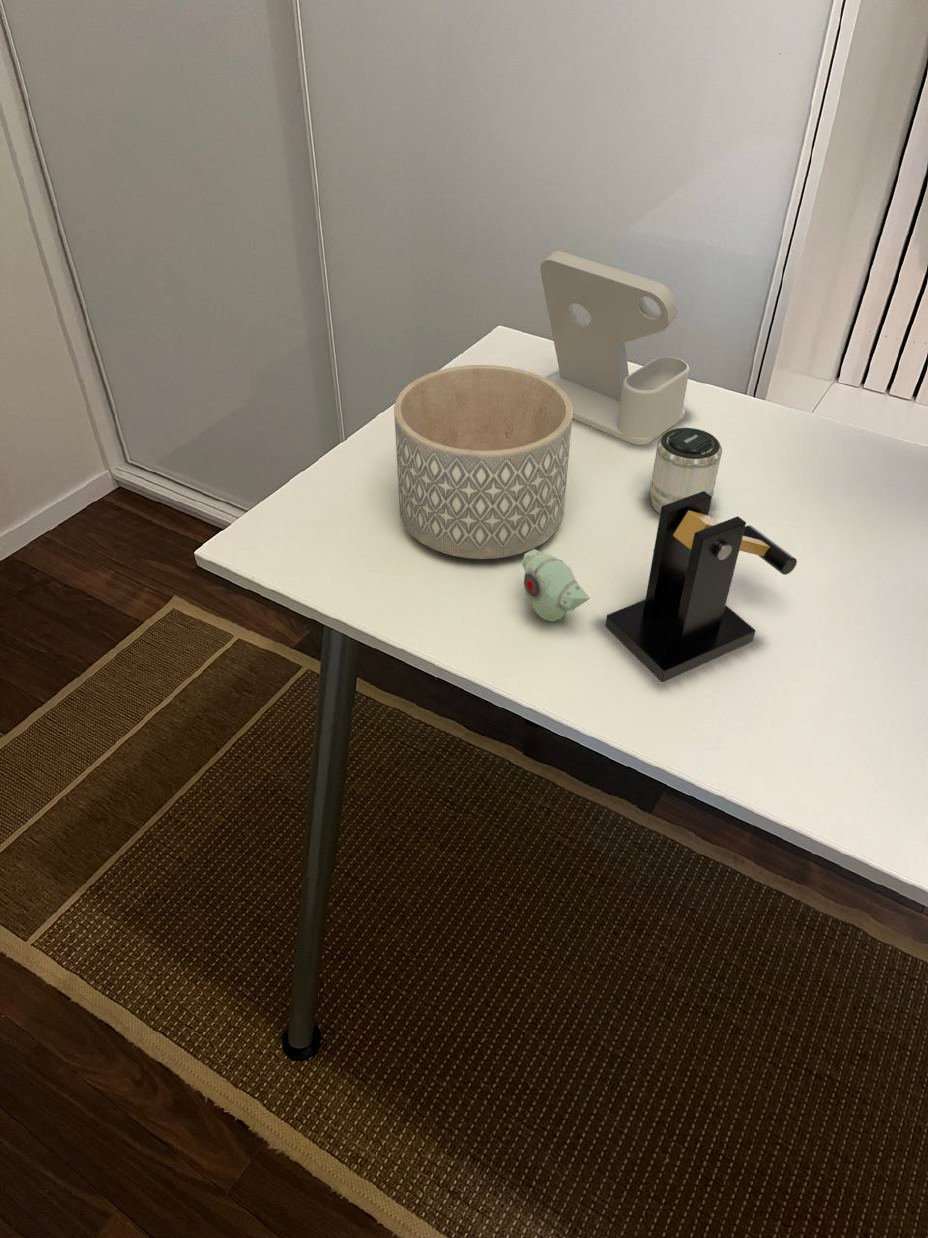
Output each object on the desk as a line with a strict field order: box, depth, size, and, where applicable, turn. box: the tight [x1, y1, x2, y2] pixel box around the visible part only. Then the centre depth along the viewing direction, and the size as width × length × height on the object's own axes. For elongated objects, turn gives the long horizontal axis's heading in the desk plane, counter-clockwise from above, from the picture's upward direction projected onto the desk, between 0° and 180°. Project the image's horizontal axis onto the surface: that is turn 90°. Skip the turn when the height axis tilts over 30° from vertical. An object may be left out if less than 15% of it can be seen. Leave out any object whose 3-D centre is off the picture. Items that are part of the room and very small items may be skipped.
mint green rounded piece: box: [521, 548, 591, 622], centre depth 81 cm, size 8×4×7 cm, turn 33°
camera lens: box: [650, 427, 723, 515], centre depth 94 cm, size 6×6×8 cm
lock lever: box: [673, 510, 798, 576], centre depth 78 cm, size 12×6×2 cm, turn 120°
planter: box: [393, 364, 573, 560], centre depth 91 cm, size 16×16×13 cm
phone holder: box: [539, 250, 690, 446], centre depth 106 cm, size 17×10×18 cm, turn 49°
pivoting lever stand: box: [605, 491, 756, 683], centre depth 78 cm, size 10×8×13 cm
